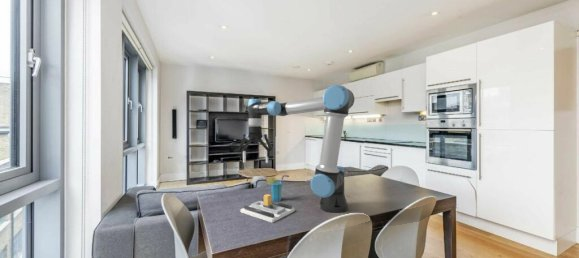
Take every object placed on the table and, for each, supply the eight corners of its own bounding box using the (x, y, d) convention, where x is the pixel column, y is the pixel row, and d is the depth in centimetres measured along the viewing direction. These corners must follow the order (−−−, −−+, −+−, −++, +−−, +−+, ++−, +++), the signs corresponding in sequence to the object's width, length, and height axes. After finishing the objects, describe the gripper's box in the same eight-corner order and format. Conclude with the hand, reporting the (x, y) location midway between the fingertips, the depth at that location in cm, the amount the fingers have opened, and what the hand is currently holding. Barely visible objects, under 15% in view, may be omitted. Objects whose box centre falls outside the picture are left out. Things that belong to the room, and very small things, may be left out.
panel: (294, 211, 124) (294, 205, 124) (272, 222, 109) (272, 215, 109) (264, 202, 137) (264, 197, 137) (240, 212, 123) (240, 205, 122)
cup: (287, 197, 148) (287, 173, 147) (290, 200, 140) (290, 176, 140) (265, 198, 144) (265, 174, 144) (267, 203, 137) (267, 177, 136)
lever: (272, 208, 123) (272, 195, 123) (268, 210, 121) (268, 196, 120) (266, 206, 125) (266, 193, 125) (262, 208, 123) (262, 195, 123)
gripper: (277, 125, 137) (278, 161, 138) (237, 126, 141) (237, 161, 142) (274, 125, 130) (275, 163, 130) (232, 126, 134) (232, 163, 134)
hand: (255, 162), depth 136 cm, fingers open, 13 cm apart
